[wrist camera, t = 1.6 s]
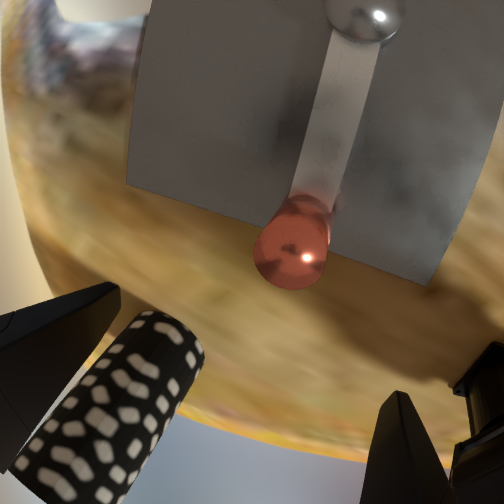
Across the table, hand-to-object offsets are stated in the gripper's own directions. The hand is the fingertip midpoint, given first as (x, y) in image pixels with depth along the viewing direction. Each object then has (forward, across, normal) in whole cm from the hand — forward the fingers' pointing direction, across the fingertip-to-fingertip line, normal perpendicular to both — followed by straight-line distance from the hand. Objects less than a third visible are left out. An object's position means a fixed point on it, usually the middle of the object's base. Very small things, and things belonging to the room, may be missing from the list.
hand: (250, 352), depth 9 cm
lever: (+12, 0, -8) cm, 14 cm away
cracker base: (+13, +2, -9) cm, 16 cm away
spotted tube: (+13, +9, +18) cm, 24 cm away
